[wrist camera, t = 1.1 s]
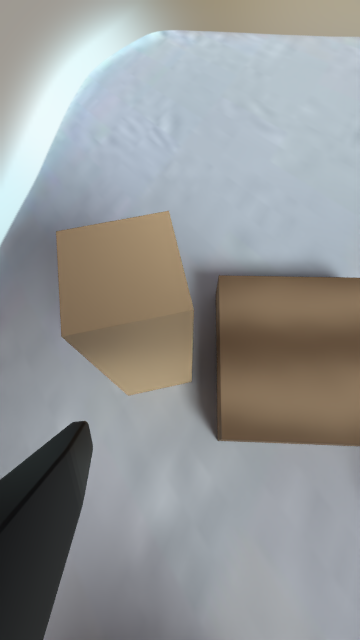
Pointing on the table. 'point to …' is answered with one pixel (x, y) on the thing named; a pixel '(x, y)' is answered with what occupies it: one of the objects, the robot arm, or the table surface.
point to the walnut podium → (288, 360)
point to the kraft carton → (127, 301)
